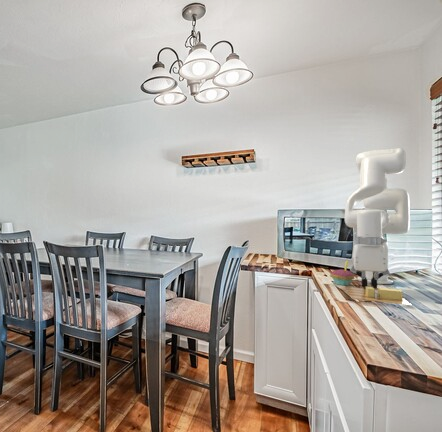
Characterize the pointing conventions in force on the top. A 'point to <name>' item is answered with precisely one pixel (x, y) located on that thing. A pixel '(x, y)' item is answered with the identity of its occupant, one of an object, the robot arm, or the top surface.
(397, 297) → the butter
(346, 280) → the birthday cake
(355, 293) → the board
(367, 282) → the knife
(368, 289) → the butter pat
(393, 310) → the top surface
